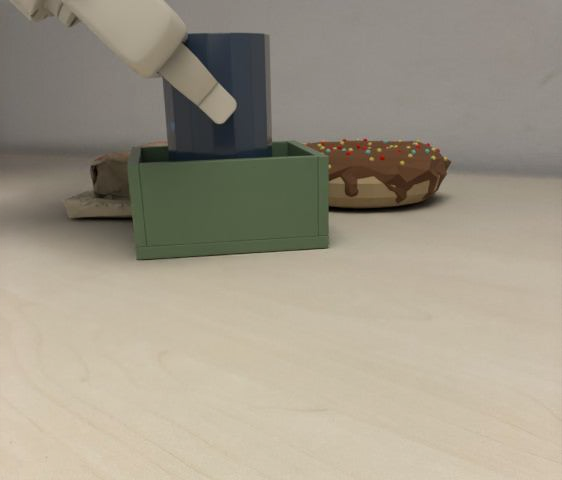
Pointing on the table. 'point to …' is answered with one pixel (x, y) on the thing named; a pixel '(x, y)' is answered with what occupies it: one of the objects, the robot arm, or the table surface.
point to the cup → (239, 84)
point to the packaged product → (106, 188)
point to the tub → (229, 202)
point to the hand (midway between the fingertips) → (226, 112)
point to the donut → (381, 172)
